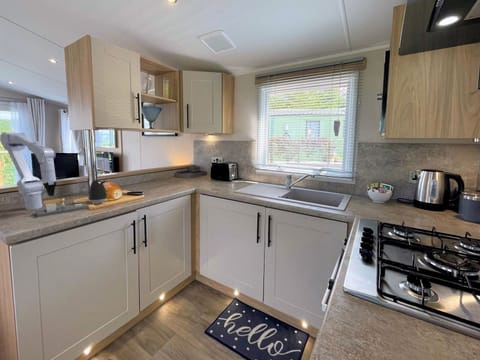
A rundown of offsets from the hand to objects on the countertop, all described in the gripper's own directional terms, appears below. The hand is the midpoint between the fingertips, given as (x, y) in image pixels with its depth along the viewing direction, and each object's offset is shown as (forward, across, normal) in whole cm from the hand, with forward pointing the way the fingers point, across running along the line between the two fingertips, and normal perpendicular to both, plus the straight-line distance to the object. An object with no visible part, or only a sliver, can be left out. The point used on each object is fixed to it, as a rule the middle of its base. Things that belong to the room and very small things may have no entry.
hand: (51, 195), depth 125 cm
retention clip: (+3, +4, +1) cm, 5 cm away
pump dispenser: (+10, -4, +23) cm, 25 cm away
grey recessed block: (+9, +4, +4) cm, 11 cm away
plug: (+8, +4, -1) cm, 9 cm away
